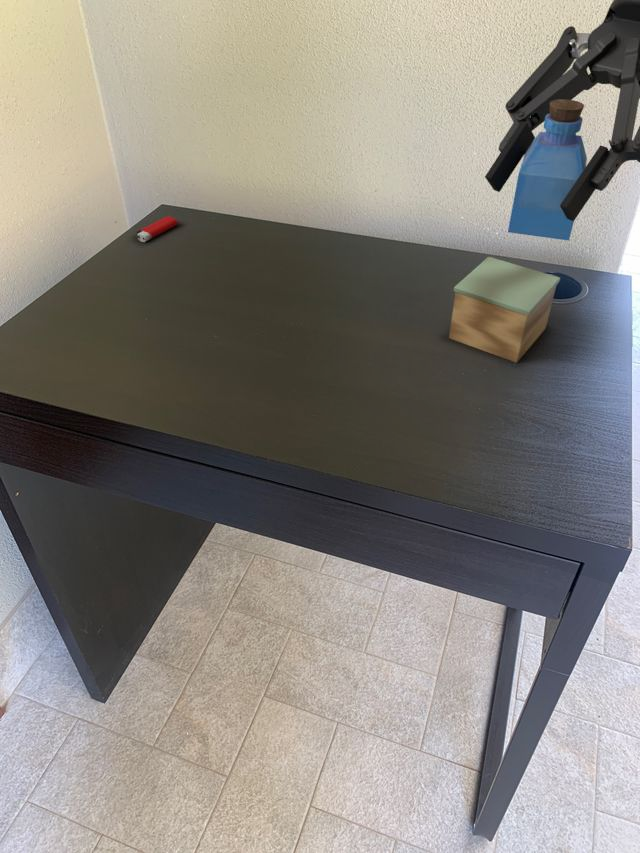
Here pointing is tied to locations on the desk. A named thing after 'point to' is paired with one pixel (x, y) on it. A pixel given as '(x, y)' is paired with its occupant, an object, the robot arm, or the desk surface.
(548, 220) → the perfume bottle
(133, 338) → the desk surface
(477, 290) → the pale green square pedestal
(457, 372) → the desk surface
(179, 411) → the desk surface
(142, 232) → the lighter
